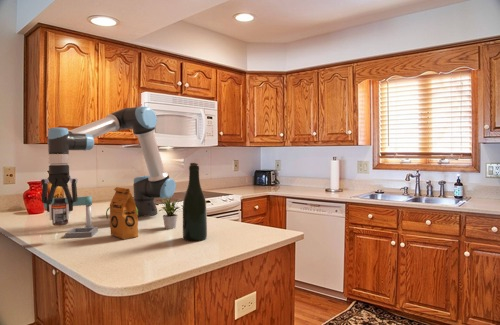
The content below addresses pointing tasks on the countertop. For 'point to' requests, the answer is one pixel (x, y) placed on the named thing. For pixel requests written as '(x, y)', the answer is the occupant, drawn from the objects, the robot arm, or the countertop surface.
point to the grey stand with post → (85, 231)
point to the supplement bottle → (59, 212)
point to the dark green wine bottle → (194, 208)
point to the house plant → (169, 214)
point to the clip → (79, 202)
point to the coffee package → (123, 214)
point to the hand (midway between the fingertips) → (60, 219)
